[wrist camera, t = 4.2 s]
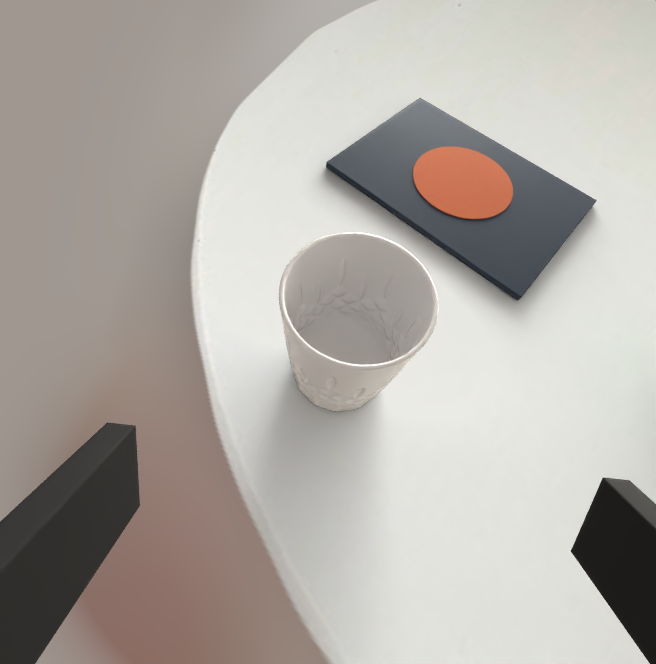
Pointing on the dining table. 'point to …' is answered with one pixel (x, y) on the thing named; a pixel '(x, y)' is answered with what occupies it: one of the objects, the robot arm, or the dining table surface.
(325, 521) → the dining table surface
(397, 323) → the white cup
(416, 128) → the place mat
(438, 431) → the dining table surface
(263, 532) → the dining table surface
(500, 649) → the dining table surface
